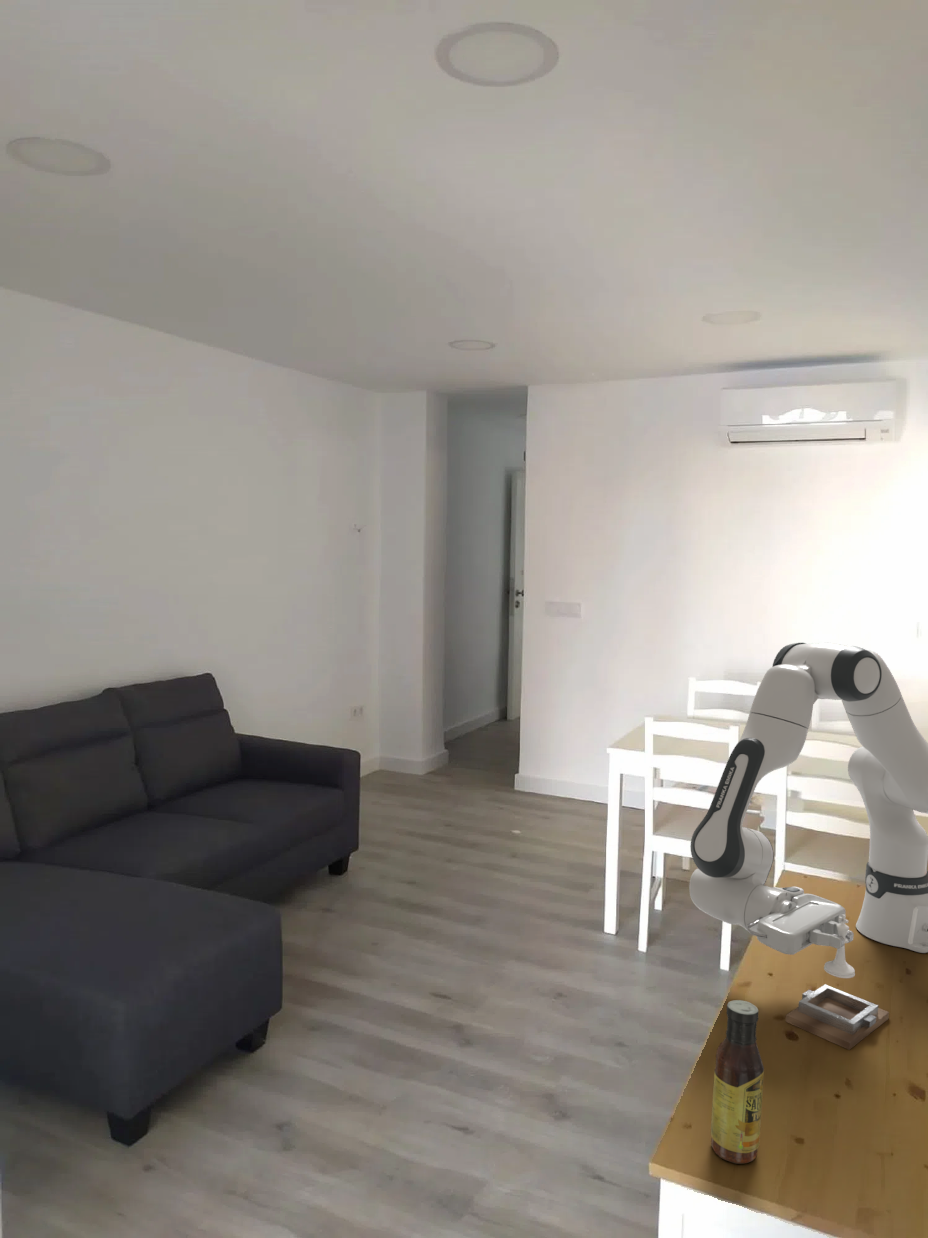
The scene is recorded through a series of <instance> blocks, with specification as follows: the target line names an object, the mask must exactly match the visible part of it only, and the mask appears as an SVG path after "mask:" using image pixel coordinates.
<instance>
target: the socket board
mask: <svg viewBox="0 0 928 1238" xmlns="http://www.w3.org/2000/svg"><path fill="white" fill-rule="evenodd" d="M816 1006H818V1007H821V1008H823V1009H825V1010H828V1011H830V1012H833V1013H835V1014H837V1015H840V1016H842V1017H845V1018H847V1019H849V1020H851V1019H852V1018H853V1017H855V1016H856V1015H857V1014H859V1013H860V1011H858V1010H855V1009H853V1008H851V1007H848V1006H846V1005H843V1004H841V1003H838V1002H836V1001H833V1000H831V999H829V998H826V999H825V1000H823V1001H822V1002H820V1003H819V1004H817V1005H816ZM889 1017H890V1012H889V1011H887V1010H884V1009H882V1008H880V1007H878V1016H877V1017H876V1023H875V1024H873V1025H872V1026H871V1027H870V1028H869V1027H867V1026H864V1027H862V1028H861V1029H860V1030H858V1031H857V1032H856V1033H855V1034H853V1035H852V1034H849V1033H847V1032H845V1031H843V1030H840V1029H838V1028H836V1027H833V1026H831V1025H829V1024H826V1023H824V1022H822V1021H819V1020H817V1019H815V1018H812V1017H810V1016H808V1015H805V1014H803V1013H801V1012H798V1006H797V1007H796V1008H794V1009H793V1010H791V1011H789V1012H788V1013H786V1014H785V1022H786V1023H788V1024H790V1025H792V1026H794V1027H797V1028H799V1029H801V1030H803V1031H806V1032H808V1033H811V1034H813V1035H814V1036H817V1037H820V1039H821V1038H822V1039H824V1040H826V1041H829V1042H830V1043H832V1044H835V1045H838V1046H839V1047H841V1048H844V1049H847V1050H851V1049H853V1048H854V1046H856V1045H857V1044H859V1043H860V1042H861V1041H862V1040H864V1039H865V1038H867V1036H869V1035H870V1034H871V1033H873V1032H874V1031H875V1030H876V1029H878V1028H879V1027H880V1026H881V1025H883V1024H884V1023H886V1022H887V1021H888V1020H889Z"/></svg>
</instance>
